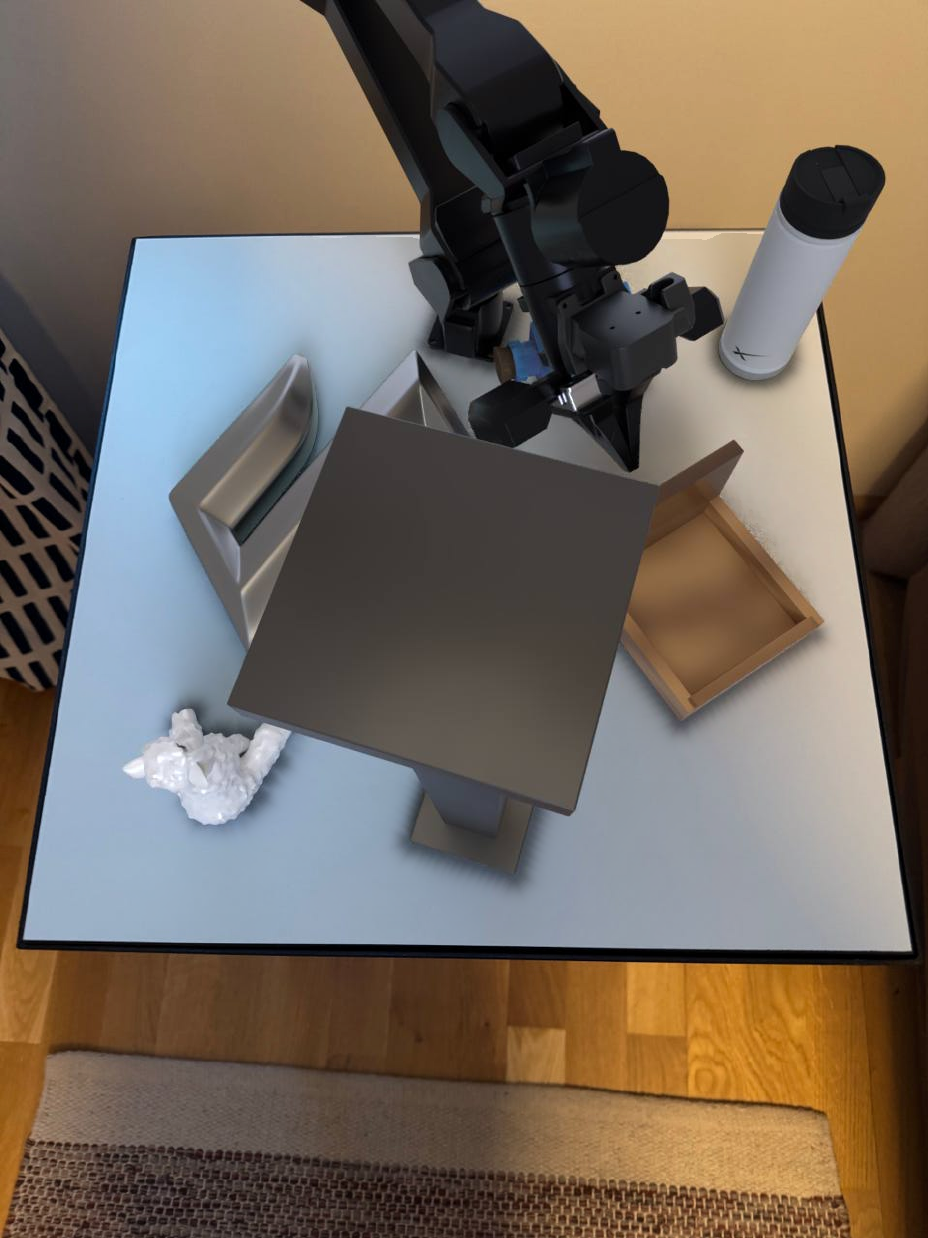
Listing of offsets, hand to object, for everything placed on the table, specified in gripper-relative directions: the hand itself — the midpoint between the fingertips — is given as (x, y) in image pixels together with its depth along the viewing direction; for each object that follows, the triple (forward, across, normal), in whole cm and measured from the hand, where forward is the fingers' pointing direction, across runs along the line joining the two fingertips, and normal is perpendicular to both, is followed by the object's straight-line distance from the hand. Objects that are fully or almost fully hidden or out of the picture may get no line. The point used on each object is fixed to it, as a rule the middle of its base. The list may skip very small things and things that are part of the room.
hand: (631, 469), depth 63 cm
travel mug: (+1, +19, +10) cm, 22 cm away
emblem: (-4, -19, +14) cm, 24 cm away
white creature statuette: (+6, -38, +5) cm, 38 cm away
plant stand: (+15, -23, -4) cm, 28 cm away
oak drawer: (+12, 0, -2) cm, 12 cm away
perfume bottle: (-6, +10, +12) cm, 16 cm away
